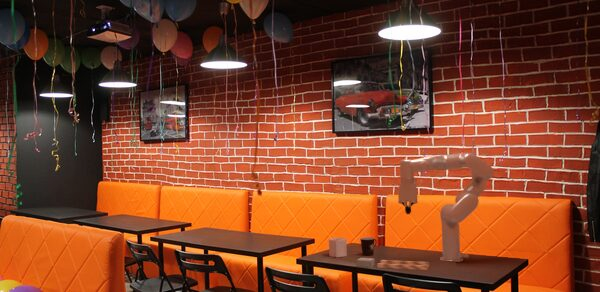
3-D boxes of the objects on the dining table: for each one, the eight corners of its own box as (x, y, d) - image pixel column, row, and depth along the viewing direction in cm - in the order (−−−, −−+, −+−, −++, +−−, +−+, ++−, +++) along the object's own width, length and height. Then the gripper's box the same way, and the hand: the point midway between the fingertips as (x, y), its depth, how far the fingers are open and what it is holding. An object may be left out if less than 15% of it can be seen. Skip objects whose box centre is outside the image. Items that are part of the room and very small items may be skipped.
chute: (429, 267, 283) (429, 262, 283) (427, 271, 274) (426, 266, 274) (381, 264, 292) (381, 259, 292) (377, 269, 283) (377, 263, 283)
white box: (341, 253, 329) (341, 237, 329) (351, 256, 318) (350, 239, 318) (326, 255, 324) (325, 238, 324) (335, 258, 313) (335, 241, 314)
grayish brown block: (374, 265, 292) (374, 258, 292) (371, 268, 286) (370, 260, 286) (360, 264, 295) (360, 257, 296) (357, 267, 290) (356, 259, 290)
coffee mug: (364, 256, 316) (363, 240, 316) (358, 254, 324) (358, 237, 324) (382, 255, 319) (381, 238, 319) (376, 252, 327) (375, 236, 327)
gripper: (421, 180, 299) (422, 213, 299) (395, 181, 304) (396, 213, 304) (420, 181, 292) (420, 215, 292) (392, 181, 297) (393, 214, 297)
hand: (408, 213), depth 298 cm, fingers closed
